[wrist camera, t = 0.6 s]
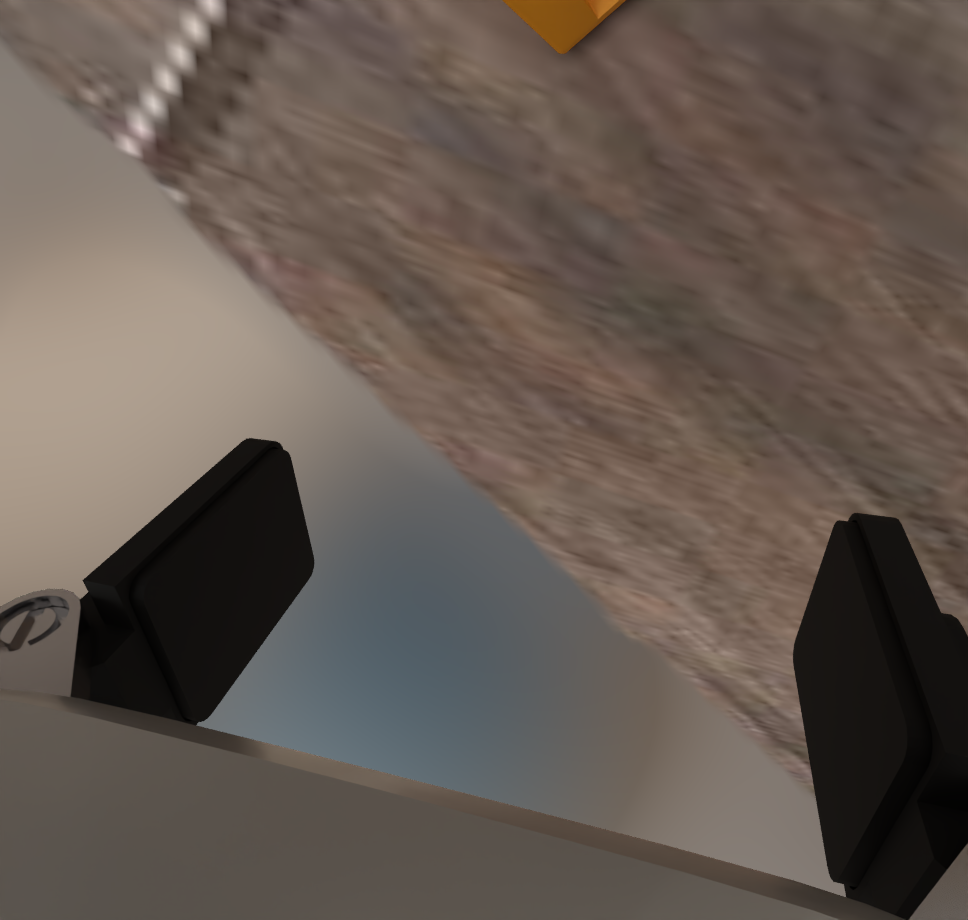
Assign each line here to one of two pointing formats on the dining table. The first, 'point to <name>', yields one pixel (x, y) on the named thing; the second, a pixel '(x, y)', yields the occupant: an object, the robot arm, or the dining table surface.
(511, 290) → the dining table surface
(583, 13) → the bracket
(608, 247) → the dining table surface
